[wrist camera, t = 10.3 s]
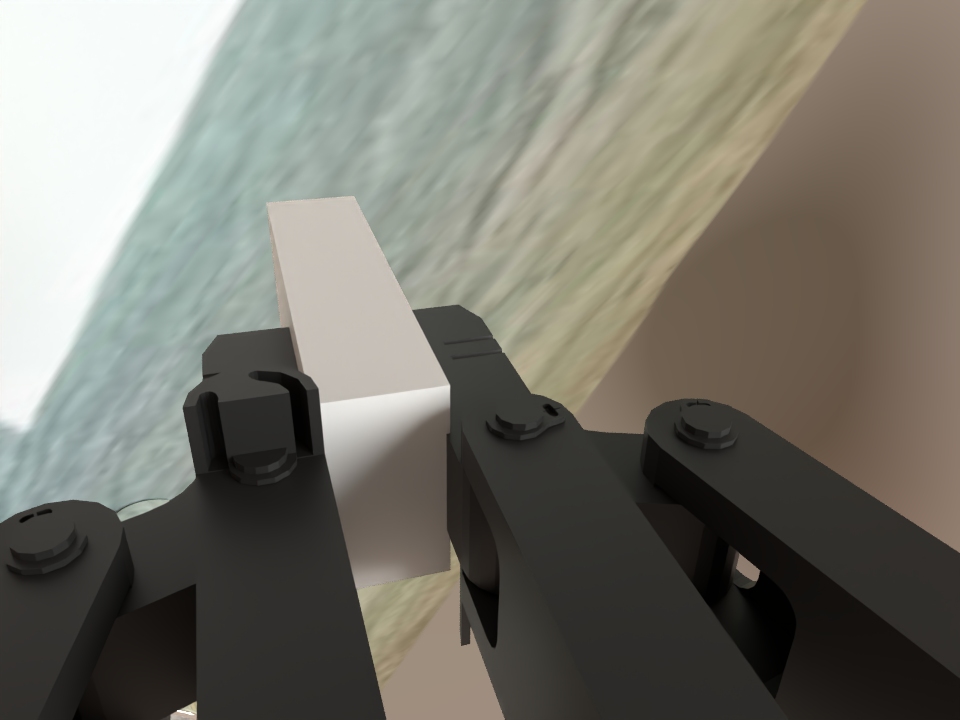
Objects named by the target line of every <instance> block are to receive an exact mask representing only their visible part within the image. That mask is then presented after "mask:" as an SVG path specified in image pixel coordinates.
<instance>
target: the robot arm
mask: <svg viewBox="0 0 960 720" xmlns="http://www.w3.org/2000/svg"><path fill="white" fill-rule="evenodd" d="M267 212H268V220H269V229H270V237H271V246H272V254H273V263H274V271H275V280H276V288H277V297H278V305H279V314H280V322H281V328H276V329H267V330H258V331H250V332H241V333H233V334H224V335H217V337H216V338H215V339H214V340H213V342H212V343H211V344H210V345H209V347H208V348H207V349H206V351H205V352H204V353H203V354H202V372H203V381H202V382H201V383H200V384H199V385H197V386H196V387H195V388H194V389H193V390H192V391H190V392H189V393H188V395H187V398H186V400H185V403H184V405H183V412H184V417H185V422H186V427H187V432H188V437H189V442H190V447H191V452H192V458H193V463H194V468H195V473H196V479H195V480H194V482H193V483H192V484H190V485H189V486H188V487H187V488H186V489H185V490H184V491H183V492H182V493H181V494H179V495H178V496H176V497H175V498H173V499H172V500H170V501H169V502H167V503H165V504H163V505H161V506H159V507H157V508H154V509H152V510H150V511H148V512H145V513H143V514H140V515H137V516H135V517H132V518H129V519H127V520H124V521H120V519H119V517H118V516H117V514H116V512H115V511H113V510H111V509H109V508H107V507H105V506H104V505H102V504H100V503H97V502H88V501H79V500H69V501H61V502H54V503H47V504H43V505H40V506H37V507H34V508H31V509H29V510H26V511H23V512H20V513H17V514H15V515H13V516H12V517H10V518H8V519H7V520H5V521H3V522H2V523H0V720H170V718H171V714H173V713H175V712H177V711H179V710H181V709H183V708H185V707H186V706H188V705H190V704H192V703H194V702H196V701H197V720H386V716H385V712H384V707H383V703H382V699H381V694H380V690H379V686H378V681H377V677H376V673H375V668H374V664H373V660H372V655H371V651H370V647H369V642H368V638H367V634H366V629H365V625H364V621H363V616H362V612H361V608H360V603H359V599H358V595H357V590H356V589H360V588H365V587H370V586H375V585H379V584H384V583H389V582H394V581H399V580H404V579H409V578H414V577H419V576H424V575H429V574H434V573H439V572H444V571H449V570H450V539H451V542H452V544H453V547H454V549H455V552H456V555H457V557H458V560H459V562H460V636H461V646H462V645H467V644H470V627H471V628H472V631H473V633H474V636H475V639H476V642H477V644H478V647H479V650H480V652H481V655H482V658H483V661H484V663H485V666H486V669H487V671H488V674H489V677H490V680H491V683H492V685H493V688H494V690H495V693H496V696H497V699H498V702H499V704H500V707H501V710H502V713H503V715H504V718H505V720H960V553H959V552H957V551H956V550H954V549H953V548H951V547H949V546H948V545H947V544H945V543H943V542H942V541H940V540H939V539H937V538H936V537H934V536H933V535H931V534H930V533H928V532H926V531H925V530H924V529H922V528H920V527H919V526H917V525H916V524H914V523H913V522H911V521H910V520H908V519H906V518H905V517H904V516H902V515H900V514H899V513H897V512H896V511H894V510H893V509H891V508H890V507H888V506H887V505H885V504H884V503H882V502H880V501H879V500H877V499H876V498H874V497H872V496H871V495H870V494H868V493H867V492H865V491H863V490H862V489H860V488H859V487H857V486H855V485H854V484H852V483H851V482H850V481H848V480H847V479H845V478H844V477H842V476H840V475H839V474H837V473H836V472H834V471H833V470H831V469H830V468H828V467H827V466H825V465H824V464H822V463H821V462H819V461H817V460H816V459H814V458H813V457H811V456H810V455H808V454H807V453H805V452H804V451H802V450H800V449H799V448H797V447H796V446H794V445H793V444H791V443H790V442H788V441H786V440H785V439H784V438H782V437H781V436H779V435H777V434H776V433H774V432H773V431H771V430H770V429H768V428H767V427H765V426H764V425H762V424H761V423H759V422H757V421H756V420H754V419H753V418H751V417H750V416H748V415H747V414H745V413H743V412H741V411H739V410H736V409H734V408H732V407H730V406H728V405H725V404H721V403H717V402H713V401H710V400H705V399H680V400H675V401H669V402H665V403H663V404H661V405H660V406H658V407H656V408H654V409H653V410H651V412H650V414H649V416H648V417H647V419H646V422H645V428H644V434H627V433H606V432H597V431H588V430H584V429H583V428H582V427H581V425H580V424H579V423H578V421H577V420H576V418H575V417H574V416H573V414H572V413H571V412H569V411H568V410H567V409H566V408H565V407H564V406H563V405H562V404H561V403H558V402H556V401H554V400H551V399H549V398H547V397H545V396H541V395H535V394H531V393H530V391H529V390H528V388H527V387H526V385H525V384H524V382H523V381H522V379H521V378H520V376H519V375H518V373H517V372H516V370H515V369H514V367H513V365H512V364H511V362H510V361H509V359H508V358H507V356H506V355H505V353H502V349H501V347H500V346H499V344H498V343H497V341H496V340H495V339H493V335H492V334H491V332H490V331H489V329H488V328H487V326H486V325H485V323H484V322H483V320H482V319H481V318H480V317H478V316H477V315H475V314H473V313H472V312H470V311H468V310H466V309H465V308H463V307H461V306H460V305H452V306H443V307H435V308H426V309H417V310H412V309H411V307H410V305H409V303H408V301H407V299H406V298H405V296H404V294H403V292H402V290H401V288H400V286H399V284H398V282H397V280H396V278H395V276H394V274H393V272H392V270H391V268H390V266H389V264H388V262H387V260H386V258H385V256H384V254H383V252H382V250H381V248H380V246H379V244H378V242H377V240H376V239H375V237H374V235H373V233H372V231H371V229H370V227H369V225H368V223H367V221H366V219H365V217H364V215H363V213H362V211H361V209H360V207H359V205H358V203H357V201H356V199H355V197H354V196H345V197H332V198H319V199H306V200H293V201H281V202H268V203H267ZM739 553H740V554H741V555H742V556H743V557H745V558H746V559H747V560H748V561H750V562H751V563H752V564H753V565H754V566H756V567H757V568H758V569H759V570H760V574H759V578H758V580H757V582H756V581H752V580H750V579H749V578H747V577H745V576H744V575H742V573H740V572H739V571H738V570H737V569H736V566H737V562H738V558H739Z"/></svg>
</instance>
